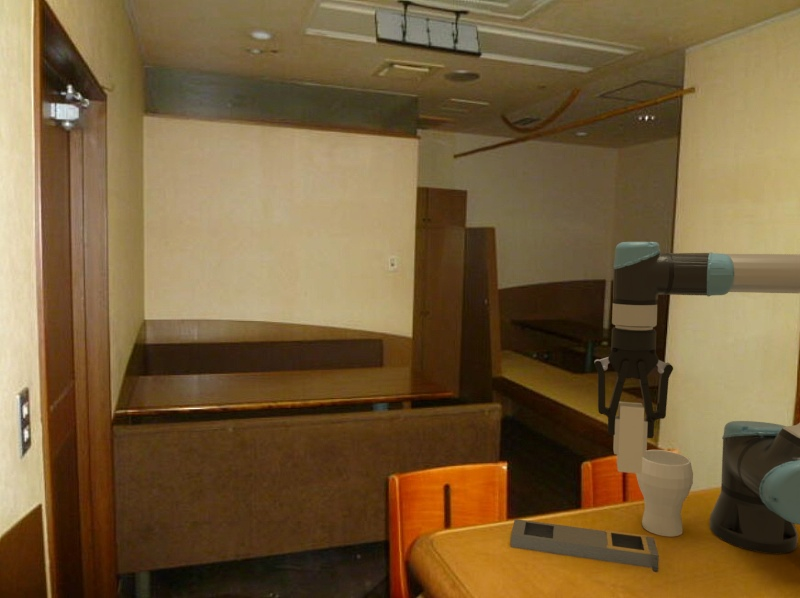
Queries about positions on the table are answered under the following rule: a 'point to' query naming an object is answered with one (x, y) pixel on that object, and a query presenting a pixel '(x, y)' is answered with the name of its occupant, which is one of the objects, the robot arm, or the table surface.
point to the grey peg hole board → (586, 543)
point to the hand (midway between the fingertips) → (629, 453)
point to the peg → (630, 437)
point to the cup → (664, 490)
